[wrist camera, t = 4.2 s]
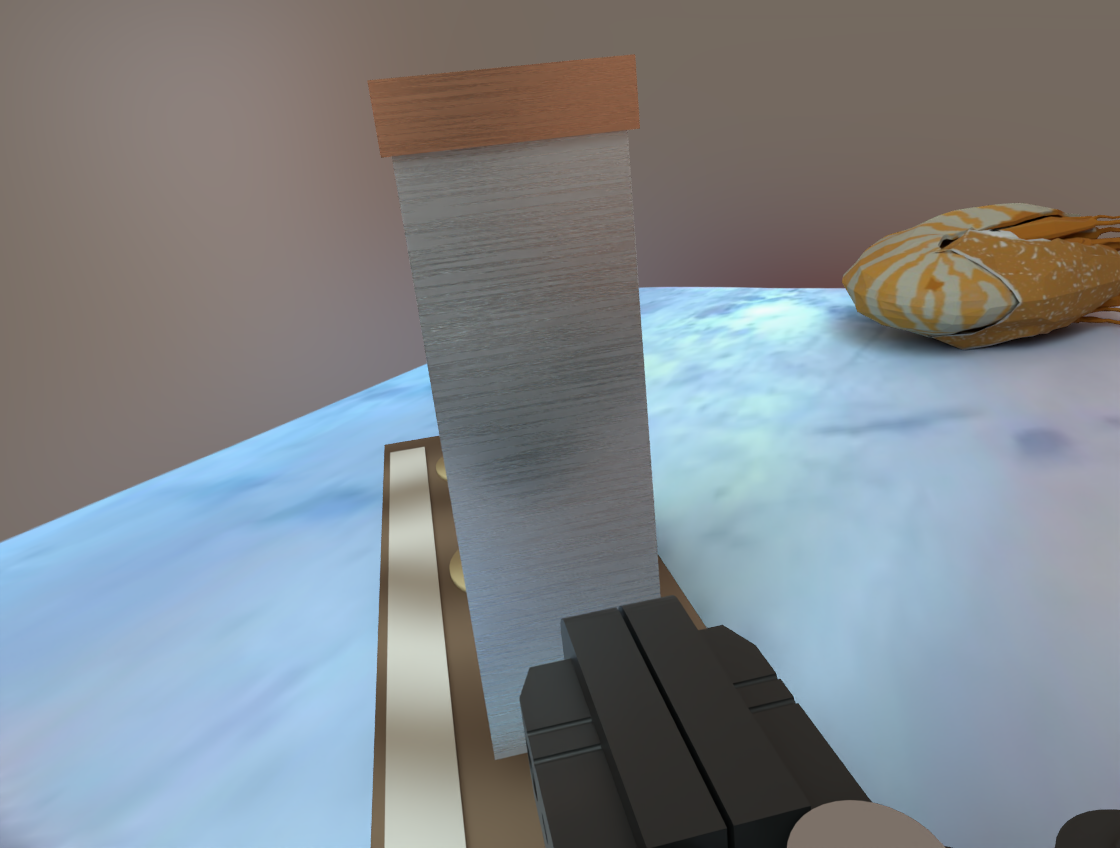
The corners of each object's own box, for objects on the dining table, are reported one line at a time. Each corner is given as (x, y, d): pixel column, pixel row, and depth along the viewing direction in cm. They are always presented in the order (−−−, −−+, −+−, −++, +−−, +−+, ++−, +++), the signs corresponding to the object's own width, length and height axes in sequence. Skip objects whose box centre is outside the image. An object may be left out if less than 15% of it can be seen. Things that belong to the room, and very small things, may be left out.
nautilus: (1204, 315, 50) (1282, 404, 38) (852, 298, 59) (824, 366, 47) (1240, 189, 47) (1338, 242, 35) (862, 191, 56) (834, 234, 43)
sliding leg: (478, 697, 19) (374, 99, 14) (629, 664, 19) (577, 78, 15) (498, 823, 15) (367, 80, 11) (682, 777, 16) (635, 54, 11)
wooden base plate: (390, 473, 38) (328, 164, 33) (568, 442, 39) (535, 140, 34) (381, 1077, 13) (126, 185, 8) (868, 935, 14) (906, 97, 9)
